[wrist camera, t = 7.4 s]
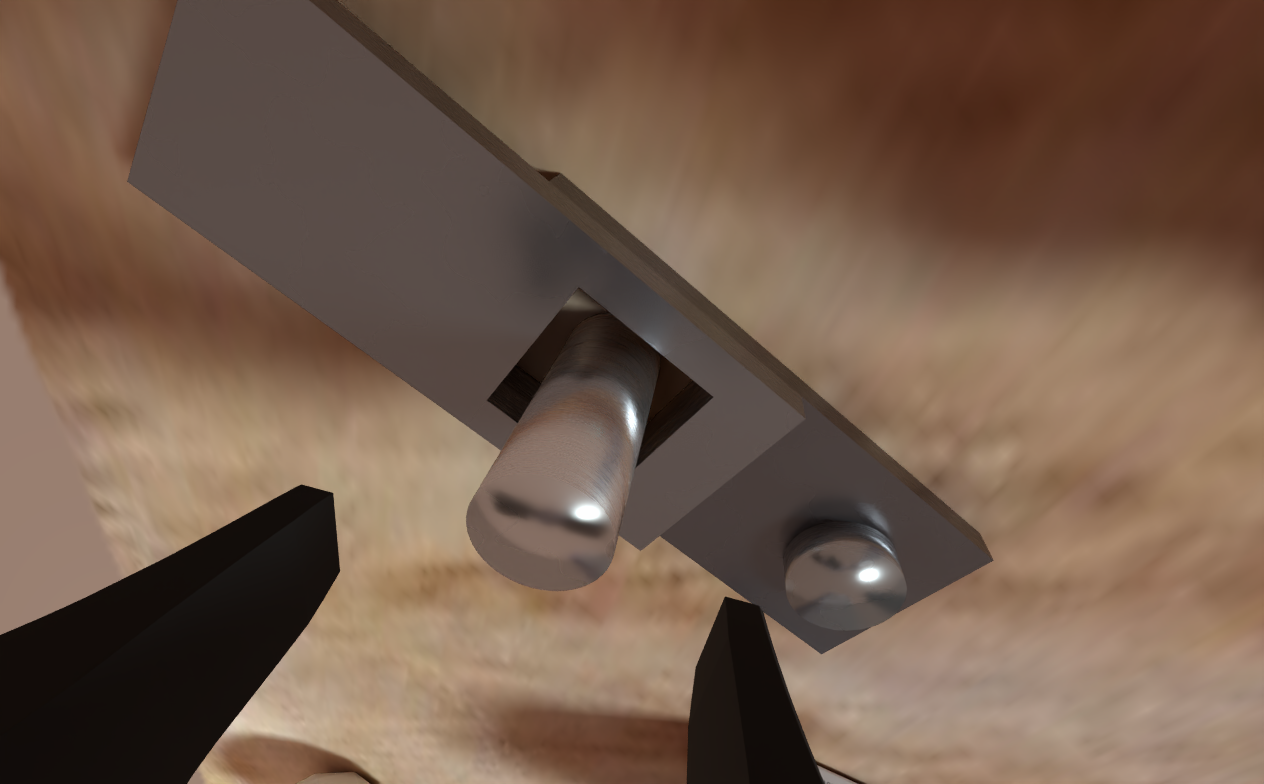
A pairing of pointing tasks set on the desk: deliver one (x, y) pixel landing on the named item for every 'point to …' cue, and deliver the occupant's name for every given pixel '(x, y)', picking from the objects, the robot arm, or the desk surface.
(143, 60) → the desk surface
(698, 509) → the end link lower
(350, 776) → the ball
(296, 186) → the end link upper
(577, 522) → the steel pin
